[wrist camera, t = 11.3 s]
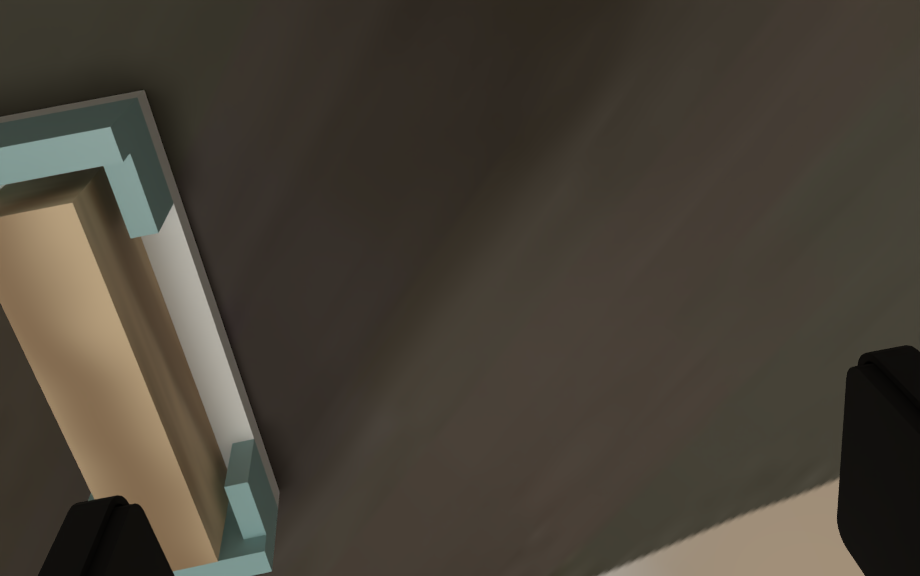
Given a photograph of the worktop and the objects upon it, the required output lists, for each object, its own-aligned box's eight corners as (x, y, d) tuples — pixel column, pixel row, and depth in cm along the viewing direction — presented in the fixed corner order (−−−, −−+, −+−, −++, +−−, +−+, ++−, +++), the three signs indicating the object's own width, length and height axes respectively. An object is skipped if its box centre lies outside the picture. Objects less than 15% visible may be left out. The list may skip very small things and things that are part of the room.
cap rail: (144, 90, 31) (110, 127, 26) (279, 491, 40) (271, 571, 36) (-42, 124, 31) (-110, 168, 26) (137, 521, 40) (110, 605, 35)
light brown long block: (110, 155, 31) (72, 203, 26) (232, 482, 38) (217, 561, 34) (17, 173, 31) (-38, 223, 26) (157, 498, 38) (132, 580, 34)
